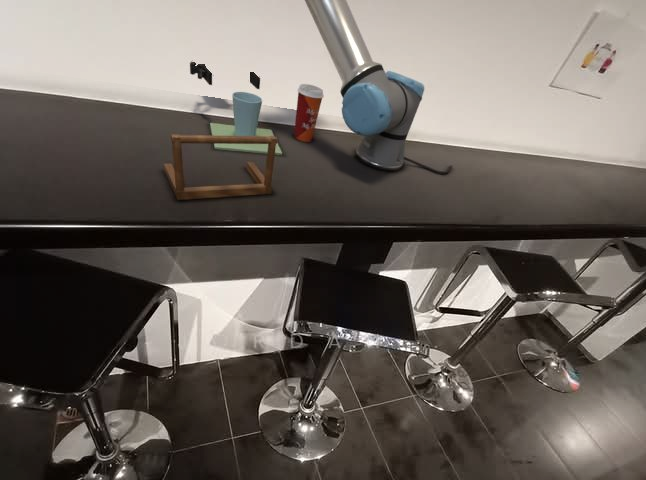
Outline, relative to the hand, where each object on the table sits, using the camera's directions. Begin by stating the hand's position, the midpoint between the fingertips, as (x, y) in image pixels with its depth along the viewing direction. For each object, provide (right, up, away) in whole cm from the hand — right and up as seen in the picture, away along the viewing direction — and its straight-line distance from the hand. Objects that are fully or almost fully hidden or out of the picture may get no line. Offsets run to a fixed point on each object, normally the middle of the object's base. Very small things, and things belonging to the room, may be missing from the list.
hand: (235, 81), depth 94 cm
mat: (+2, -15, +3) cm, 15 cm away
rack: (0, -33, -16) cm, 37 cm away
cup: (+2, -14, +3) cm, 15 cm away
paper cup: (+18, -9, +13) cm, 24 cm away
